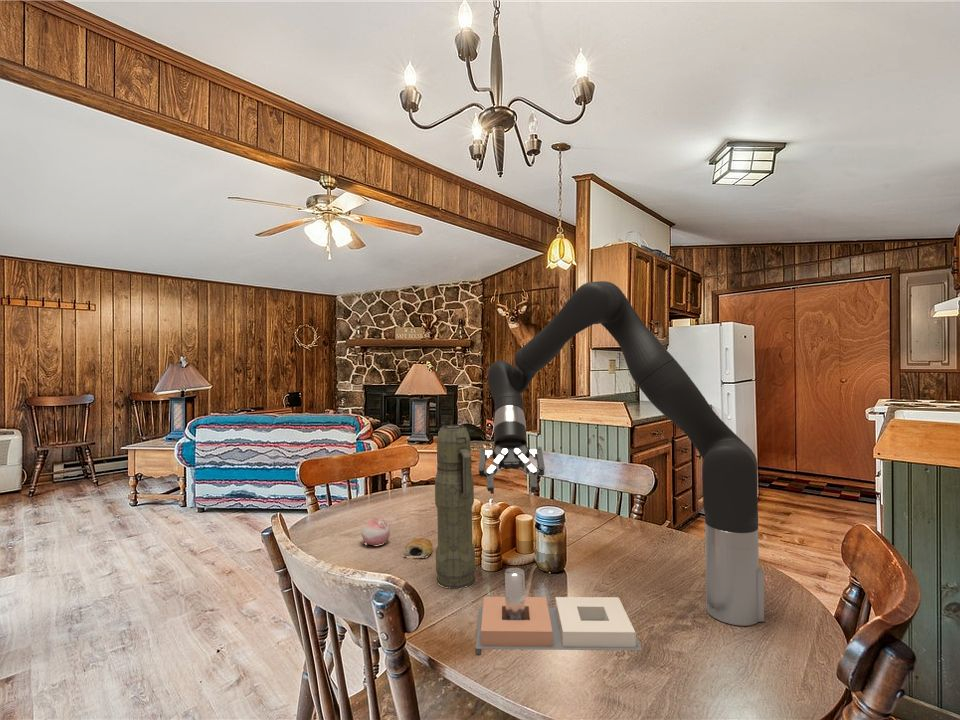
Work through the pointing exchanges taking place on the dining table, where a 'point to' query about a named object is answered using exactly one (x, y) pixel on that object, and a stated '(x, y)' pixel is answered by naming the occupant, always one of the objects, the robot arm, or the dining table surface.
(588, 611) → the dock board
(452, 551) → the thermos
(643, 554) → the dining table surface
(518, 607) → the steel pin
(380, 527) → the onion
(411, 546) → the pastry
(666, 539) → the dining table surface
